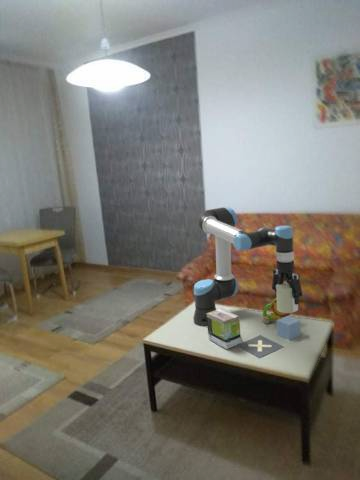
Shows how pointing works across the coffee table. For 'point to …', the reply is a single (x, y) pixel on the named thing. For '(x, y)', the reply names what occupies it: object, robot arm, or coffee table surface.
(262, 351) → the letter mat
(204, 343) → the coffee table surface
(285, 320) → the blue cube
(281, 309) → the can
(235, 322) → the tea box
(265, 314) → the toy lion
